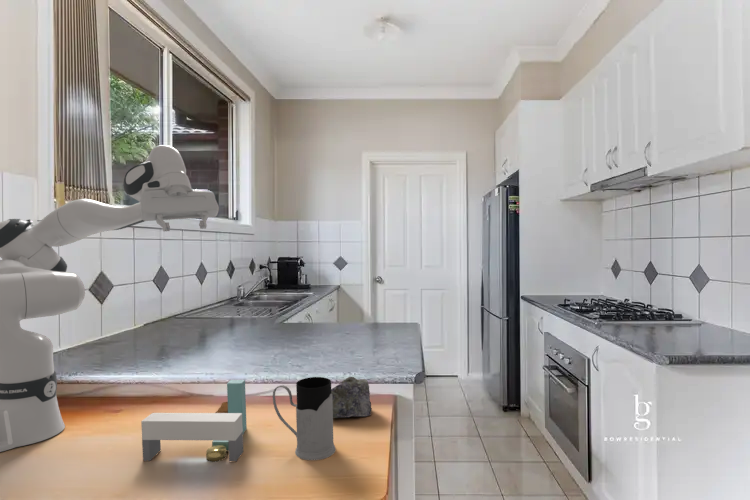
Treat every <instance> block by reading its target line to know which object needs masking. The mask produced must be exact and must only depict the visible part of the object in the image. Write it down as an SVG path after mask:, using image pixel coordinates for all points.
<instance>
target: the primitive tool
mask: <svg viewBox="0 0 750 500" xmlns="http://www.w3.org/2000/svg"><path fill="white" fill-rule="evenodd" d="M214 413H228V401H224V402H222V403H221V404H220V406H219V408H218V409H217V410H216V412H214Z"/></svg>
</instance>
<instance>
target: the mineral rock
mask: <svg viewBox="0 0 750 500" xmlns="http://www.w3.org/2000/svg"><path fill="white" fill-rule="evenodd" d="M331 394H332V403H333V419H339V418H351V417H353V418H354V417H368V416H371V415H372V410H373V407H372V403H371V400H370V398H371V396H370V395H371V392H370V384H369V382H368V379H365V378H362V379H357V378H356V377H354V376H348V377H347V378H345V379H343V380H342V381H341V382H340V383H339V384H337V385H335V386H334V387H331Z"/></svg>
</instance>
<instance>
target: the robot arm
mask: <svg viewBox="0 0 750 500" xmlns="http://www.w3.org/2000/svg"><path fill="white" fill-rule="evenodd" d="M122 186H123V190H124V192H125V195H126V194H127V195H128V196H130V197H131V198H133V199H134V200H136V201H137V203H134V204H131V205H128V206H117V205H111V204H107V203H104V202H101V201H98V200H94V199H90V198H79V199H74V200H72V201H69V202H67V203H65V204H63V205H61V206H59V207H58V208H56V209H54V210H53V211H50V212H49V214H47V215H46V216H44V217H43V218H42V219H41V220H39V222H38V223H36V224H33V220H32V219H26V220H25V219H21V218H9V219H6V220H3V221H0V453H1V452H5V451H8V450H9V451H10V450H11V449H15V448H19V447H23V446H28V445H32V444H35V443H39V442H42V441H45V440H48V439H50V438H52V437H54V436H56V435H58V434H60V433H61V432H63V430H65V427H66V425H65V423H64V420H63V417H62V413H61V411H60V407H59V401H58V398H57V397H58V396H57V389H58V377H57V371H56V370H55V364H54V345H53V343H52V340H50V338H48V337H47V336H45V335H43V334H41V333H38V332H34V331H30V330H27V329H26V330H25V329H24V328H23V327H21V324H20V322H21V321H23V320H27V319H28V320H30V319H36V318H45V317H54V316H58V315H62V314H66V313H69V312H72V311H75V310H77V309H78V308H79V307H80V306H82V305H81V304H82V303H83V302H84V299H85V294H86V289H85V284H84V282H83V281H82V279H81V278H80V277H79V276H78V275H77V274H76V273H74V272H67V270H68V264H67V262H66V261H65V259H64V258H63V256H60V255H59V254H58V253H57V251H56V250H55V249H54V248H53V247H55V248H57V247H58V248H59V247H63V246H66V245H69V244H70V245H71V244H72V243H75V242H78V241H80V240H82V239H85V238H87V237H89V236H92V235H96V234H101V233H103V232H104V233H105V232H110V231H117V230H118V231H119V230H123V229H126V228H129V227H132V226H135V225H138V224H141V223H144V222H153V221H156V223H157V224H158V225H159V226H160V227H161V228H162V231H163V232H170V229H171V227H170V222H166V221H170V220H187V219H188V220H191V219H201V220H199V223H198V226H199V229H200V230H203V229H204V230H205V229H207V226H208V225H207V221H208V218H209V219H210V218H216V217H217V215H218V214H219V210H220V206H219V204H218V202H217V200H216V196H215V193H214V192H213V191H210V190H208V189H193V188H192V185H191V181H190V179H189V176H188V175H187V168H186V165H185V162H184V160H183V157H182V155H181V152H179V151H178V150H177V149H176V148H175V147H173V146H171V145H164V144H160V145H157V146H154V147H153V148H152V149H151V150H150V153H149V155H148V156H147V158H146V159H145V160H144V162H141V163H140V164H136V165H134V166H133V167H131V168H130V169H128V170H127V171H126V173H125V175H124V178H123V185H122Z"/></svg>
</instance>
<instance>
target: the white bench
mask: <svg viewBox="0 0 750 500" xmlns="http://www.w3.org/2000/svg"><path fill="white" fill-rule="evenodd" d="M140 423H141V446H142V461H143V460H144V462H150V461H152V460H153V459H154V458H155V457H156V456H157V455H158V454H159V453H160V452H161V451H162V445H161V443H162V442H161V441H213V440H221V441H228V445H229V451H228V462H229V461H236V462H237V461H238V460H239V459H238V458H240V457H241V456H242V455H243V453H244V434H243V423H242V413H215V412H151V414H149V415H148V416H146V417H145V418H143V419H142V420H141V422H140ZM160 450H161V451H160ZM159 451H160V452H159ZM158 452H159V453H158ZM157 453H158V454H157ZM156 454H157V455H156ZM155 455H156V456H155ZM240 455H241V456H240ZM154 456H155V457H154ZM153 457H154V458H153ZM152 458H153V459H152ZM237 459H238V460H237ZM147 460H148V461H147Z"/></svg>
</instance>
